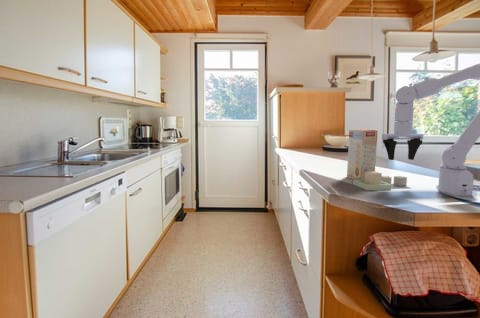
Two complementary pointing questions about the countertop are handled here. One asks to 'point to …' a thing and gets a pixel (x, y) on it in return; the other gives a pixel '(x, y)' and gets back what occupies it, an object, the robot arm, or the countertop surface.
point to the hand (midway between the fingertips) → (400, 159)
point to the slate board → (399, 187)
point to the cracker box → (361, 152)
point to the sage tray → (371, 187)
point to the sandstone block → (372, 178)
